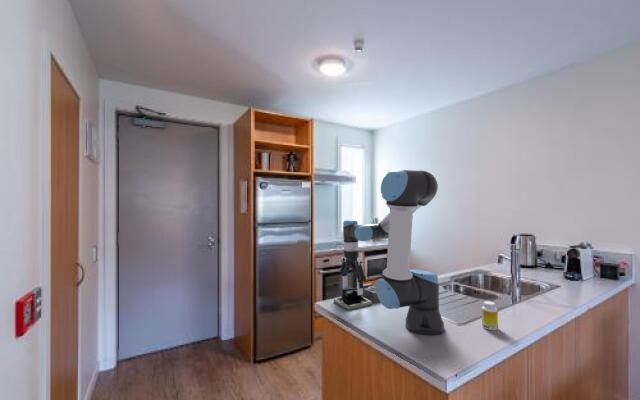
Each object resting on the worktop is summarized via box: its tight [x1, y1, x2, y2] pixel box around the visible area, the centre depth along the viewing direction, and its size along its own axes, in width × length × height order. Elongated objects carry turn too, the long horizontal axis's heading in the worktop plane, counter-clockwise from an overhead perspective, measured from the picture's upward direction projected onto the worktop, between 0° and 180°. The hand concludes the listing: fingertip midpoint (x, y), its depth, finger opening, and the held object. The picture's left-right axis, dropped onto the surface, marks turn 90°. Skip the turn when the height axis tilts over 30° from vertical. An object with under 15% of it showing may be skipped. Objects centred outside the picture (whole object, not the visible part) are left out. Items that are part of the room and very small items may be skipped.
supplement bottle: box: [481, 300, 499, 331], centre depth 117 cm, size 6×6×10 cm
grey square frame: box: [333, 296, 373, 312], centre depth 148 cm, size 14×14×2 cm
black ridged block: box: [340, 287, 364, 305], centre depth 148 cm, size 10×7×7 cm
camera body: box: [361, 282, 380, 303], centre depth 156 cm, size 12×7×6 cm, turn 28°
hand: (352, 291), depth 148 cm, fingers open, 13 cm apart
